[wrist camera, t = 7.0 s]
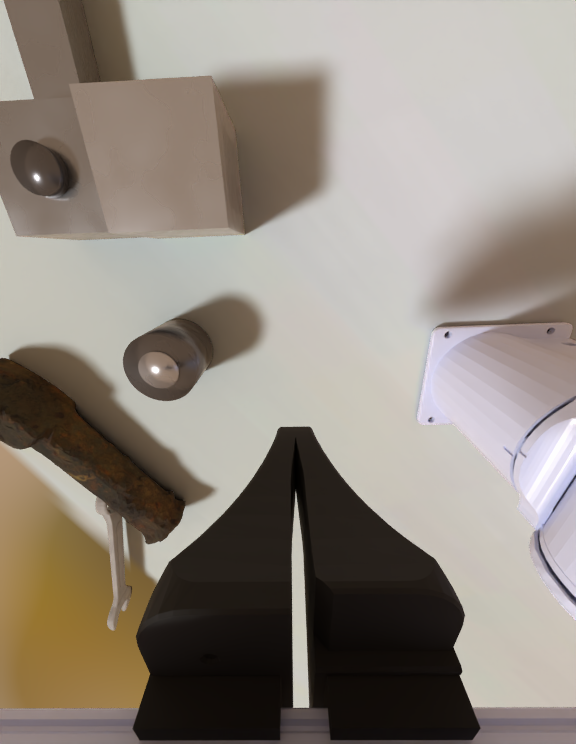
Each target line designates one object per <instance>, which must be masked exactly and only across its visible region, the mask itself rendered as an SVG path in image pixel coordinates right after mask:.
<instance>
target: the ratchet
mask: <svg viewBox="0 0 576 744" xmlns="http://www.w3.org/2000/svg"><path fill="white" fill-rule="evenodd" d="M4 3H5V6H6V9H7V13H8V16H9V19H10V22H11V25H12V29H13V32H14V35H15V38H16V42H17V45H18V48H19V51H20V54H21V58H22V61H23V64H24V67H25V71H26V74H27V77H28V80H29V83H30V87H31V90H32V93H33V96H34V99H33V100H16V101H0V195H1V198H2V200H3V203H4V205H5V208H6V210H7V213H8V215H9V218H10V221H11V223H12V226H13V228H14V231H15V233H16V236H22V237H38V238H54V239H71V240H92V239H115V238H137V237H139V236H130V235H121V234H112V233H108V229H107V225H106V221H105V218H104V214H103V210H102V206H101V203H100V199H99V195H98V191H97V188H96V184H95V180H94V176H93V173H92V169H91V165H90V161H89V158H88V154H87V150H86V147H85V143H84V139H83V135H82V132H81V128H80V124H79V120H78V117H77V113H76V109H75V105H74V102H73V98H72V94H71V90H70V87H69V84H76V83H93V82H101V81H100V77H99V73H98V68H97V64H96V60H95V56H94V51H93V47H92V43H91V38H90V34H89V30H88V25H87V21H86V17H85V13H84V8H83V4H82V0H4Z"/></svg>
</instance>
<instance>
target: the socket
mask: <svg viewBox="0 0 576 744" xmlns="http://www.w3.org/2000/svg"><path fill="white" fill-rule="evenodd" d="M212 357H213V346H212V343H211V340H210V338H209V336H208V335H207V333H206V332H205V331H204V330H203V329H202V328H201V327H200V326H198V325H197V324H195V323H193V322H191V321H188V320H183V319H174V320H170V321H167V322H165V323H163V324H162V325H160V326H158V327H156V328H154V329H153V330H151V331H149V332H147V333H145V334H144V335H142V336H140V337H138V338H137V339H135V340H133V341H132V342H131V343H130V344H129V345H128V347H127V348H126V350H125V353H124V357H123V366H124V370H125V373H126V376H127V377H128V379H129V381H130V382H131V384H132V385H133V386H134V387H135V388H136V389H137V390H138V391H140V392H141V393H143V394H144V395H146V396H148V397H150V398H153V399H156V400H162V401H172V400H176V399H179V398H181V397H183V396H185V395H186V394H187V393H188V392H190V390H191V389H192V388H193V386H194V385H195V383H196V382H197V381H198V379H199V378H200V377H201V375H202V374H203V373H204V371H205V370H206V368H207V367H208V366H209V364H210V362H211V360H212Z"/></svg>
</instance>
